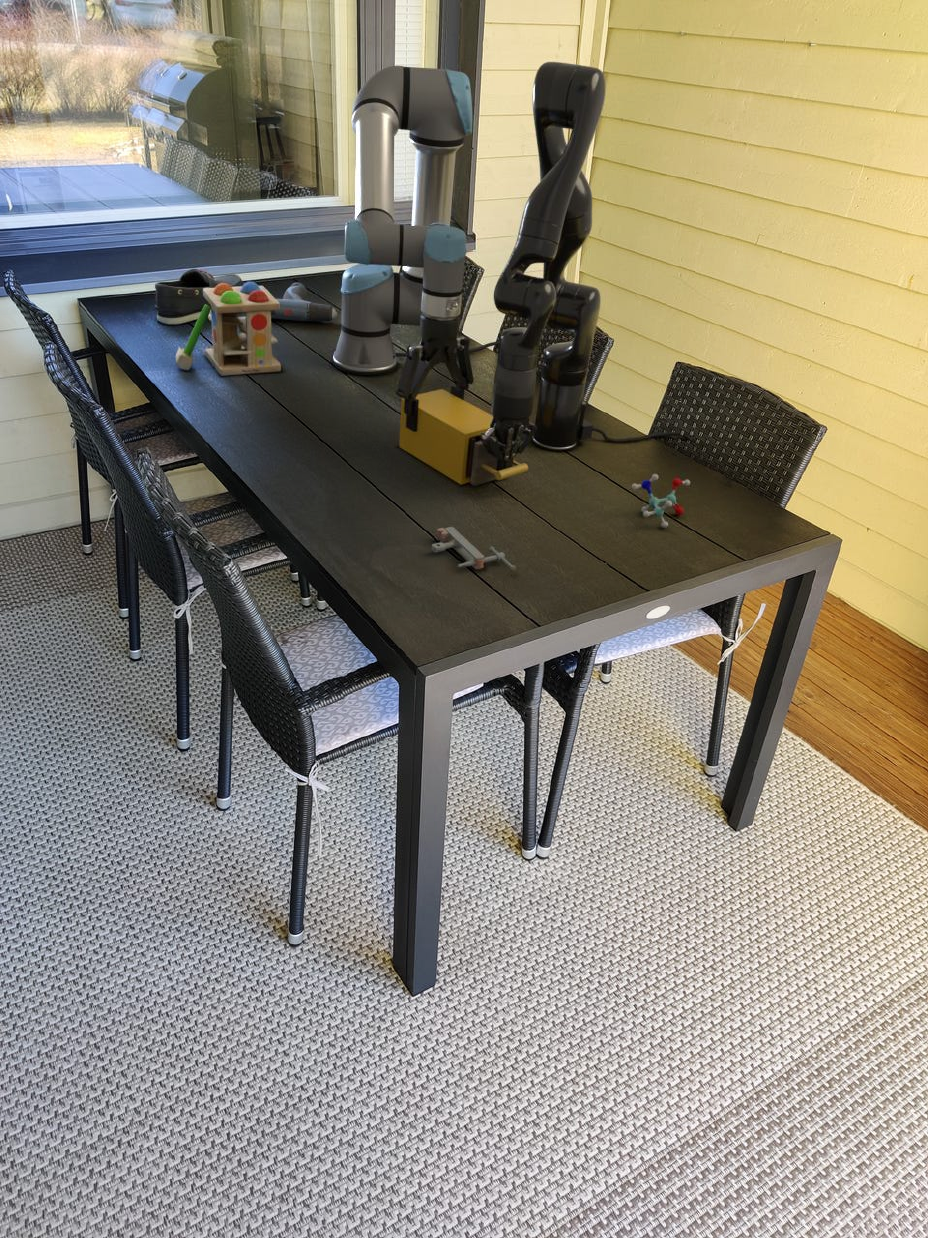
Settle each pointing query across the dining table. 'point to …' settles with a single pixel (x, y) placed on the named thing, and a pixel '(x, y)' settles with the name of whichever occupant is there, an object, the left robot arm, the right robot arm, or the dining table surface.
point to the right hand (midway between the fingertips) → (503, 475)
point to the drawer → (487, 464)
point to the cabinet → (443, 432)
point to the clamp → (465, 549)
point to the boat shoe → (187, 295)
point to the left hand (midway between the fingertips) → (433, 423)
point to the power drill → (301, 307)
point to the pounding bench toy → (229, 347)
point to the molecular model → (654, 501)
